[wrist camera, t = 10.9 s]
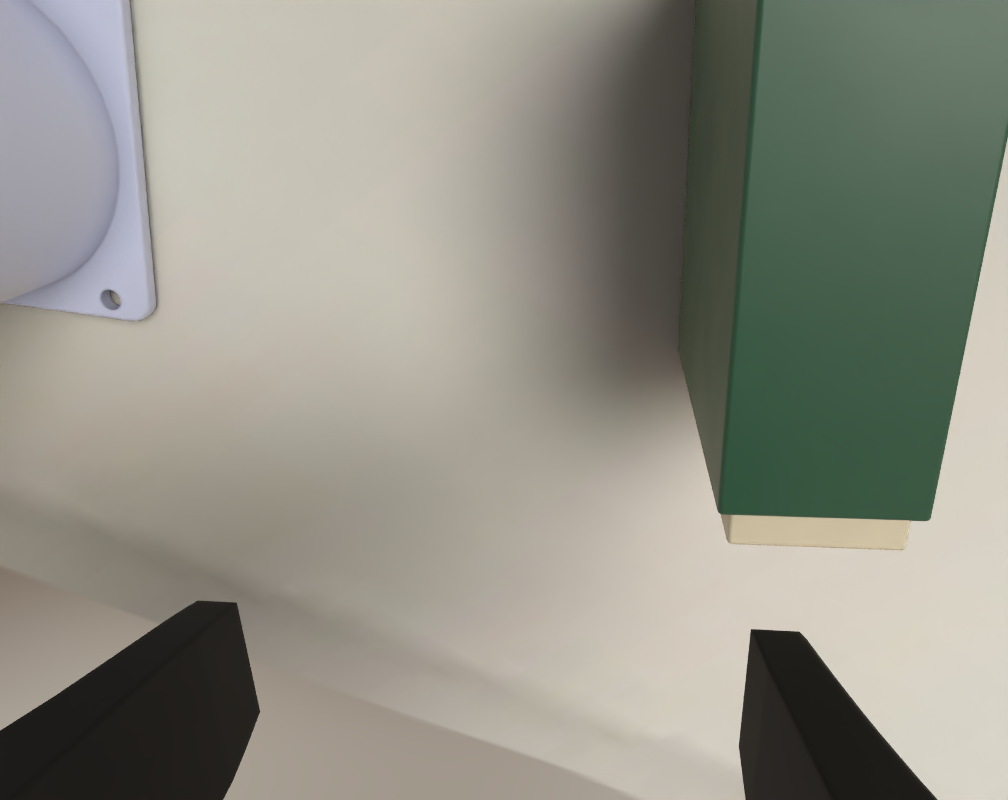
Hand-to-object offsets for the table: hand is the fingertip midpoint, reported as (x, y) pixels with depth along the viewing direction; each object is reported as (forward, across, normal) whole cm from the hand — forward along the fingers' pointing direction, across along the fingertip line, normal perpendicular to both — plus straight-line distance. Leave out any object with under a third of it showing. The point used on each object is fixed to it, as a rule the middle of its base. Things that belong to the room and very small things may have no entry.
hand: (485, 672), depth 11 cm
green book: (+9, -5, -5) cm, 12 cm away
